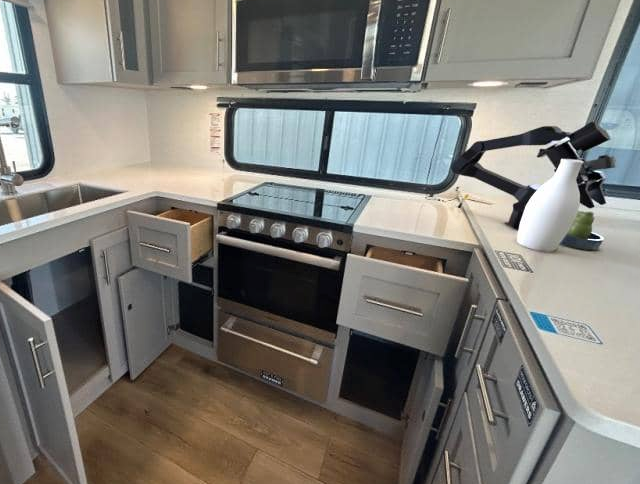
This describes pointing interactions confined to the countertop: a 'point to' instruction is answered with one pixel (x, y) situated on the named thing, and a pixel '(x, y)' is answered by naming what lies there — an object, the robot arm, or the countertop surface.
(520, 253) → the countertop surface
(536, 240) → the bottle
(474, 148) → the robot arm
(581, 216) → the pear
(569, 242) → the holder
